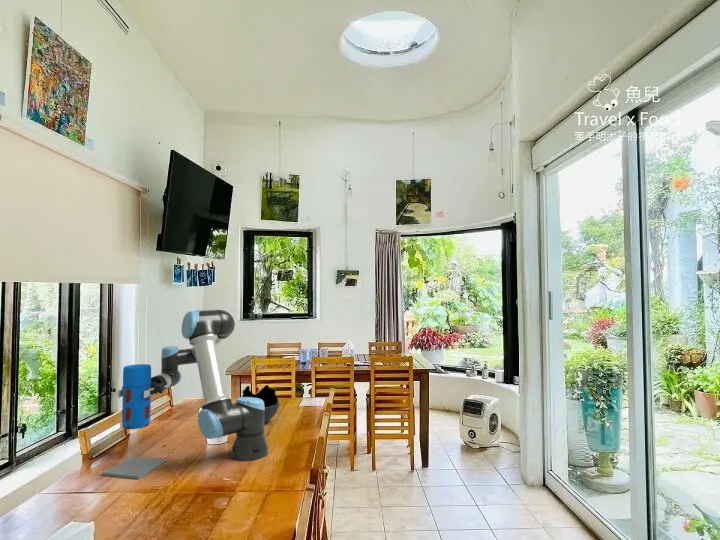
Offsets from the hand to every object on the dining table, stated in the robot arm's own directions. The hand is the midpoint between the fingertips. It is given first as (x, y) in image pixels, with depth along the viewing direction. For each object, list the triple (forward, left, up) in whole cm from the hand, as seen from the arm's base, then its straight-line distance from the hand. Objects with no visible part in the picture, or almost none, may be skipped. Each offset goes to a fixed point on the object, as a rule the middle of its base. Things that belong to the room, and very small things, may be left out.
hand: (131, 394), depth 182 cm
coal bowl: (-31, -56, -26) cm, 69 cm away
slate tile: (-11, +9, -26) cm, 30 cm away
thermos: (+1, -4, -14) cm, 15 cm away
